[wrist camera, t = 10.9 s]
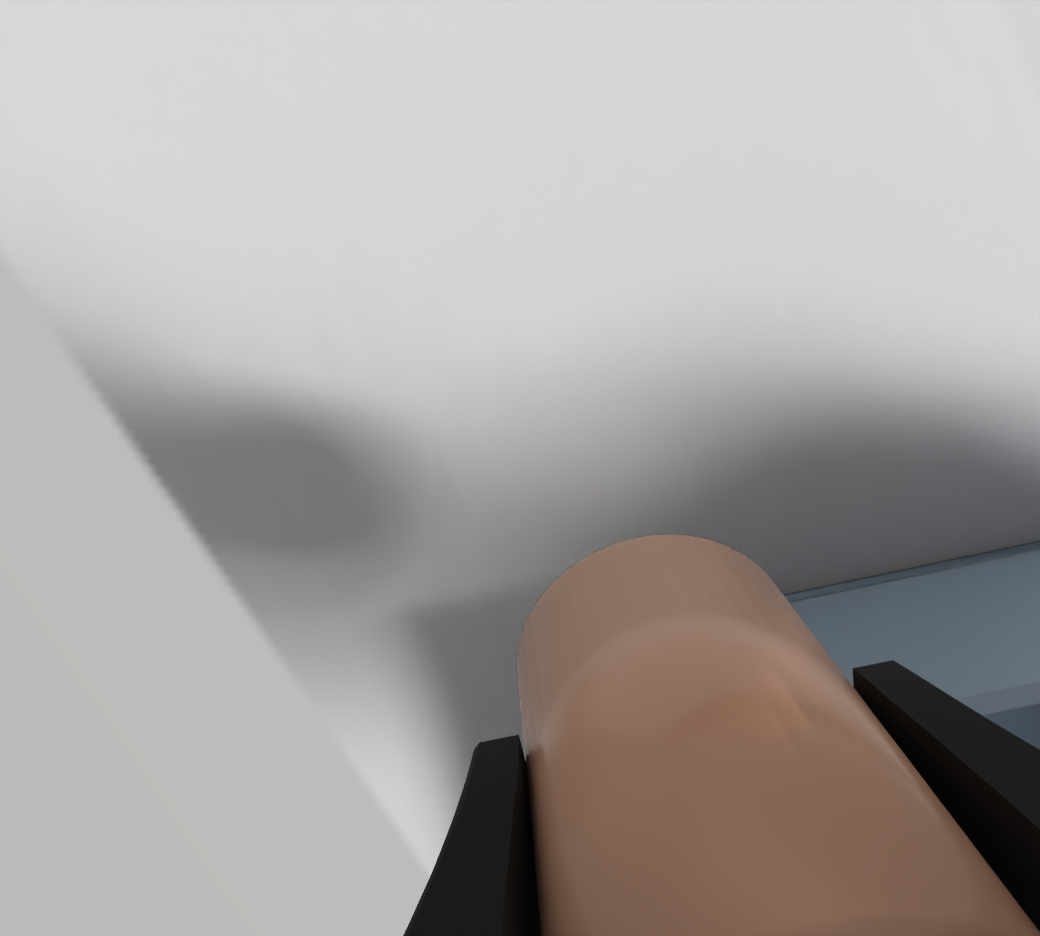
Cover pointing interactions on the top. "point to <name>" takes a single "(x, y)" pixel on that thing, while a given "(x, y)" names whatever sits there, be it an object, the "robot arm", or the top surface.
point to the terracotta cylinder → (723, 767)
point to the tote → (945, 630)
